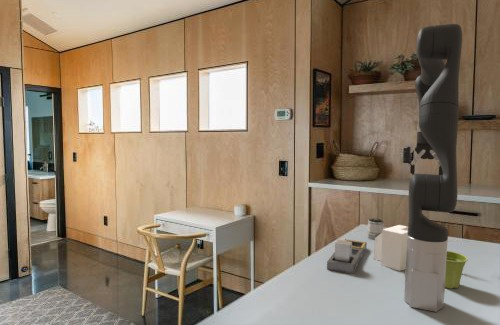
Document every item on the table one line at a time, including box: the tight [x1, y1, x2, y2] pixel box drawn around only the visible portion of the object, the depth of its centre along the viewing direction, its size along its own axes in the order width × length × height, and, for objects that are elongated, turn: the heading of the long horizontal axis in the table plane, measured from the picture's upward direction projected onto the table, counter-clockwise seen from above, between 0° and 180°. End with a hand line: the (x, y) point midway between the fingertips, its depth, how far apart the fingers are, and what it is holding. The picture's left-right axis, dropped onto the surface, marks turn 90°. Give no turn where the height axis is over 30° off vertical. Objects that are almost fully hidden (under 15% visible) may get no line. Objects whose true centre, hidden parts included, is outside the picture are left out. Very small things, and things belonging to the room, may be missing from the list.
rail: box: [326, 239, 368, 275], centre depth 127 cm, size 28×8×3 cm, turn 154°
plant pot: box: [445, 250, 468, 289], centre depth 105 cm, size 9×9×9 cm
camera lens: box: [367, 218, 385, 240], centre depth 152 cm, size 6×6×8 cm
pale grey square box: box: [334, 239, 352, 263], centre depth 119 cm, size 4×4×8 cm
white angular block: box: [373, 224, 408, 272], centre depth 123 cm, size 11×11×12 cm
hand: (426, 176), depth 131 cm, fingers open, 8 cm apart
